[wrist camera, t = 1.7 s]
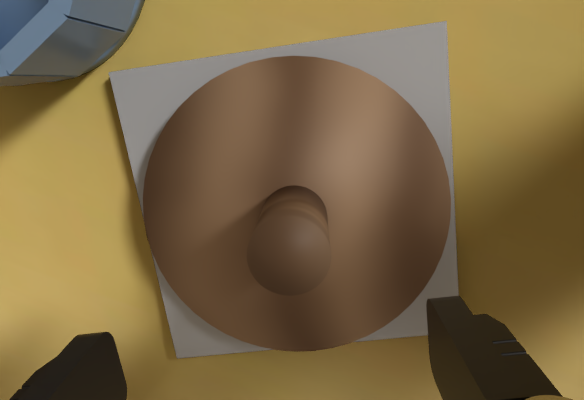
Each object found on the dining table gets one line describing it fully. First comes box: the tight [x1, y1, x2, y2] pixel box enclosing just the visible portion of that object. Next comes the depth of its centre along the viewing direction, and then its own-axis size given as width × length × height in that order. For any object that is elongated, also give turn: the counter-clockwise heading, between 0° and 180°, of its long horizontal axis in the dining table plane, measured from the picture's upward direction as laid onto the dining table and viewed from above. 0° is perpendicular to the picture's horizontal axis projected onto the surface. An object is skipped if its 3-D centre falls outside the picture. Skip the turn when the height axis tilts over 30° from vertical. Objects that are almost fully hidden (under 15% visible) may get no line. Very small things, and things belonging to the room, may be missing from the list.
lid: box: [143, 56, 451, 351], centre depth 19 cm, size 15×15×6 cm
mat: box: [109, 21, 459, 358], centre depth 23 cm, size 16×16×1 cm
